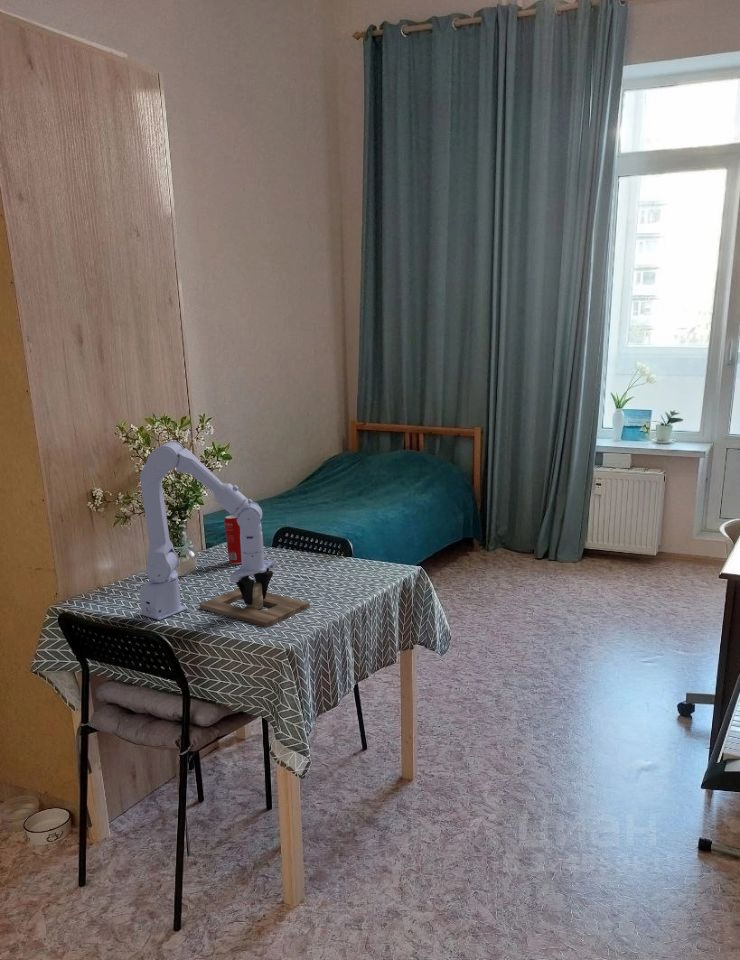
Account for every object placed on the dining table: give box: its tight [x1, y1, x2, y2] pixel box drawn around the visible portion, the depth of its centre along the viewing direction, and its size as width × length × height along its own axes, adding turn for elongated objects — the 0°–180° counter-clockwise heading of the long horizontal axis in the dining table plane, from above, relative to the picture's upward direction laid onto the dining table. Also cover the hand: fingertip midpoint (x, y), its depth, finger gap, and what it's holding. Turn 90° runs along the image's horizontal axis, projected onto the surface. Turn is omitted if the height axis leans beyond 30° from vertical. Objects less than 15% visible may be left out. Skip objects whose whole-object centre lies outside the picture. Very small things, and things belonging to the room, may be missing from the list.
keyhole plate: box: [199, 588, 310, 628], centre depth 192 cm, size 16×24×1 cm, turn 54°
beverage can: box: [223, 514, 242, 565], centre depth 231 cm, size 6×6×15 cm
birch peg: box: [245, 581, 264, 610], centre depth 192 cm, size 4×4×6 cm
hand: (255, 600), depth 192 cm, fingers closed on birch peg, 4 cm apart
